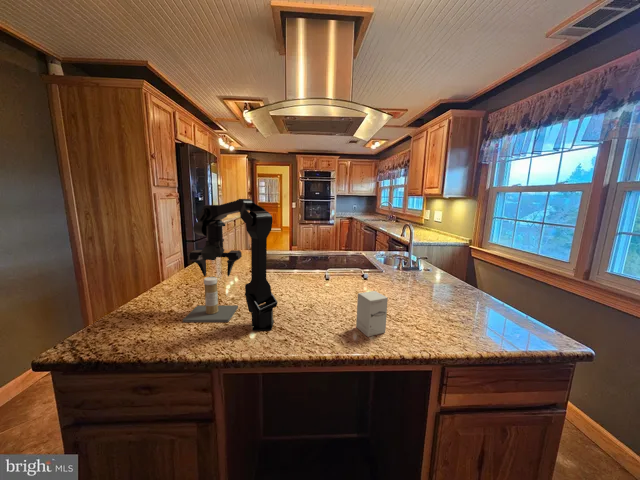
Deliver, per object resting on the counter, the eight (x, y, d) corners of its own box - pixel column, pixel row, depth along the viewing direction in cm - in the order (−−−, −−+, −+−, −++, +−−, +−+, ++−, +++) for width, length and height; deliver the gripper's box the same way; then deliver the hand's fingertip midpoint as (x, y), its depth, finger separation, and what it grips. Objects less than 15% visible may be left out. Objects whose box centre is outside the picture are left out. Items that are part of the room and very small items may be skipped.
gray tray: (238, 307, 100) (237, 305, 100) (228, 322, 89) (228, 319, 88) (197, 307, 100) (197, 305, 100) (182, 322, 88) (182, 319, 88)
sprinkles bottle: (208, 309, 96) (206, 276, 94) (220, 309, 96) (218, 276, 94) (203, 315, 92) (201, 280, 89) (216, 314, 92) (214, 280, 90)
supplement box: (367, 337, 80) (369, 300, 78) (355, 327, 87) (357, 292, 85) (386, 333, 83) (388, 297, 81) (373, 323, 90) (374, 289, 88)
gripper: (179, 240, 88) (182, 282, 90) (233, 241, 89) (234, 282, 91) (194, 235, 99) (196, 273, 101) (241, 236, 100) (242, 273, 102)
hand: (216, 276), depth 99 cm, fingers open, 9 cm apart
